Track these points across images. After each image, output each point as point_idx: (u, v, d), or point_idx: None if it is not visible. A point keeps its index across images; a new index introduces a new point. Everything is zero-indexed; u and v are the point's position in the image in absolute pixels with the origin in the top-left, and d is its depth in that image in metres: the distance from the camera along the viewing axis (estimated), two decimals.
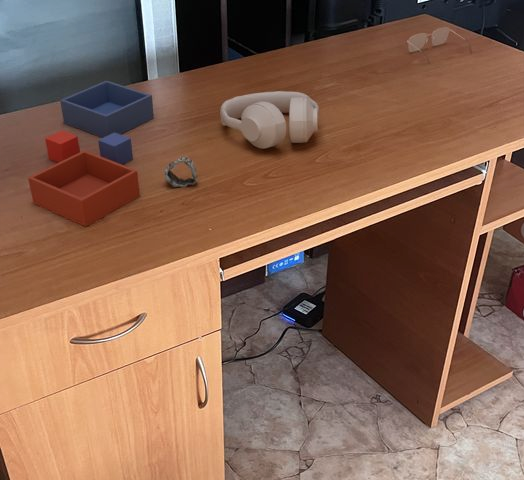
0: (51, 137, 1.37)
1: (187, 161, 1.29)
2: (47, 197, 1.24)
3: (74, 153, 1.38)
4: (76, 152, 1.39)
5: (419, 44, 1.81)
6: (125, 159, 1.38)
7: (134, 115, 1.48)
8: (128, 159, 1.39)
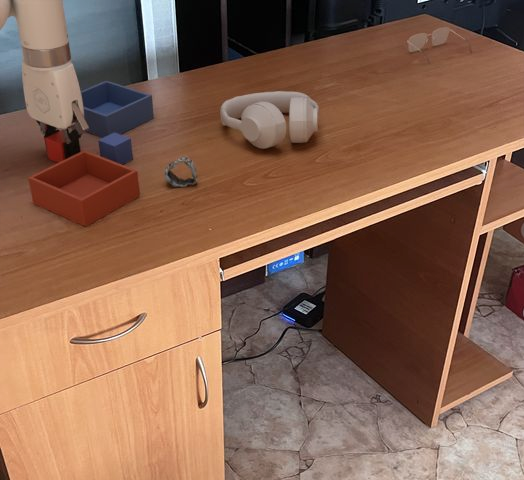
0: (51, 137, 1.37)
1: (187, 161, 1.29)
2: (47, 197, 1.24)
3: None
4: None
5: (419, 44, 1.81)
6: (125, 159, 1.38)
7: (134, 115, 1.48)
8: (128, 159, 1.39)
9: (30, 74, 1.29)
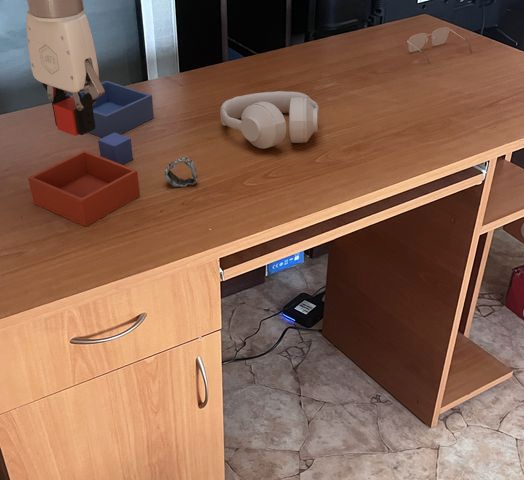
0: (60, 103, 1.18)
1: (187, 161, 1.29)
2: (47, 197, 1.24)
3: None
4: None
5: (419, 44, 1.81)
6: (125, 159, 1.38)
7: (134, 115, 1.48)
8: (128, 159, 1.39)
9: (36, 28, 1.10)
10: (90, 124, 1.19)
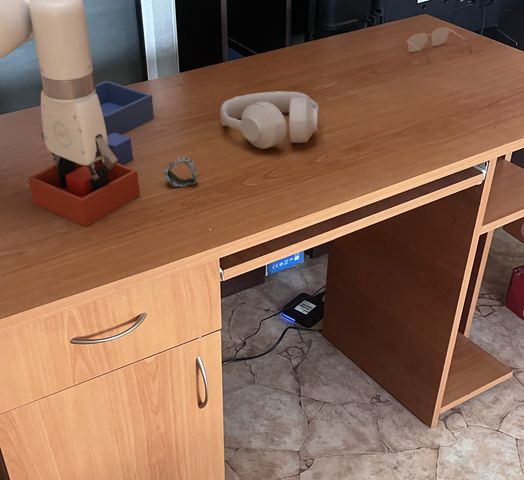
0: (72, 174, 1.25)
1: (187, 161, 1.29)
2: (47, 197, 1.24)
3: None
4: None
5: (419, 44, 1.81)
6: (125, 159, 1.38)
7: (134, 115, 1.48)
8: (128, 159, 1.39)
9: (49, 106, 1.17)
10: None
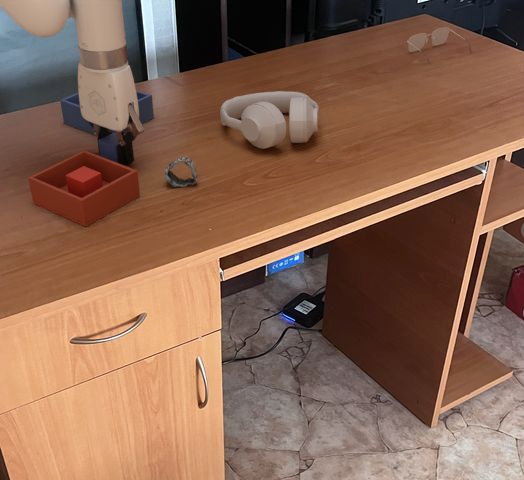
0: (72, 174, 1.25)
1: (187, 161, 1.29)
2: (47, 197, 1.24)
3: None
4: None
5: (419, 44, 1.81)
6: None
7: None
8: None
9: (86, 76, 1.28)
10: (130, 157, 1.37)
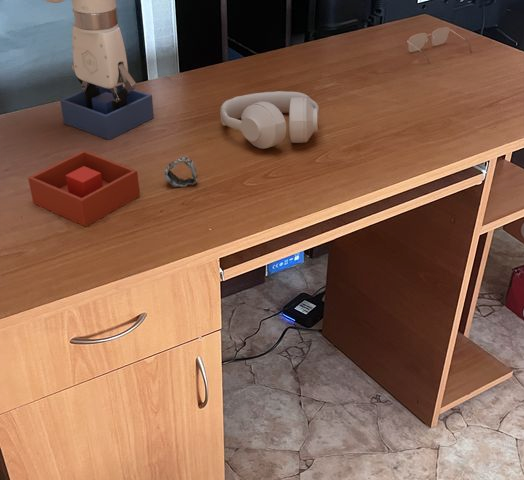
0: (72, 174, 1.25)
1: (187, 161, 1.29)
2: (47, 197, 1.24)
3: None
4: None
5: (419, 44, 1.81)
6: None
7: (134, 115, 1.48)
8: None
9: (80, 37, 1.41)
10: None
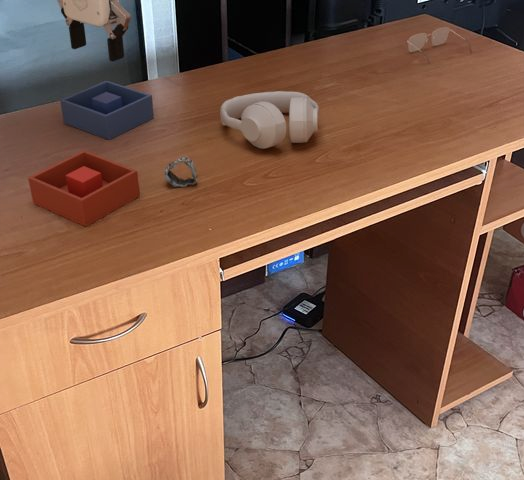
0: (72, 174, 1.25)
1: (187, 161, 1.29)
2: (47, 197, 1.24)
3: None
4: None
5: (419, 44, 1.81)
6: None
7: (134, 115, 1.48)
8: None
9: None
10: (120, 52, 1.40)
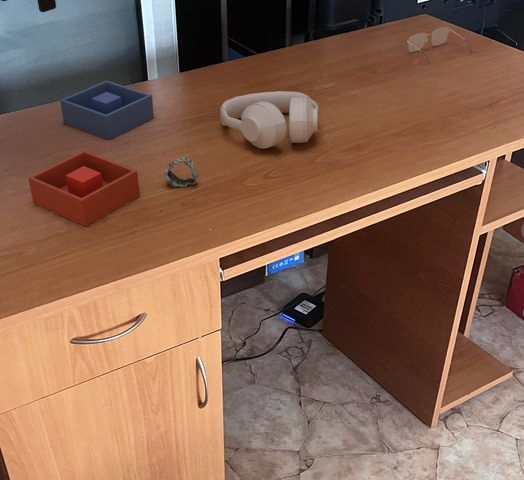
0: (72, 174, 1.25)
1: (187, 161, 1.29)
2: (47, 197, 1.24)
3: None
4: None
5: (419, 44, 1.81)
6: None
7: (134, 115, 1.48)
8: None
9: None
10: (51, 2, 1.28)
